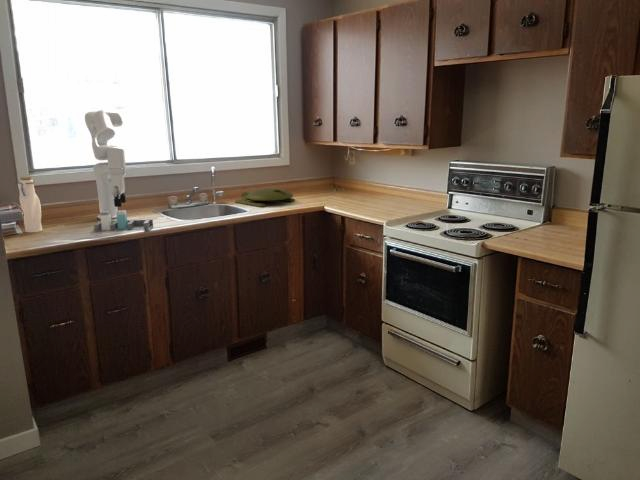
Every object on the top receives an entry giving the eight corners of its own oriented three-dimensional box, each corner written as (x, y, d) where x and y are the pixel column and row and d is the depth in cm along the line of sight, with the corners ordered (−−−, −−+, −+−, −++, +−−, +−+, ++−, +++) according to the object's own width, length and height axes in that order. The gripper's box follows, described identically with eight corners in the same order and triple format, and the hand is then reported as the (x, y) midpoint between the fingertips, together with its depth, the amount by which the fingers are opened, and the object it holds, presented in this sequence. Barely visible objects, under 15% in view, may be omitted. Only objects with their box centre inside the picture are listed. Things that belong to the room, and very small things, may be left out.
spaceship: (233, 203, 341) (232, 188, 338) (268, 197, 362) (267, 183, 360) (267, 209, 317) (267, 194, 315) (302, 203, 339) (302, 188, 336)
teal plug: (120, 227, 266) (118, 210, 264) (128, 227, 266) (126, 210, 264) (118, 229, 262) (116, 212, 260) (126, 228, 262) (124, 211, 260)
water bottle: (41, 232, 261) (33, 178, 254) (21, 234, 259) (13, 178, 252) (45, 228, 271) (38, 175, 264) (26, 229, 268) (18, 176, 261)
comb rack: (98, 228, 268) (97, 221, 267) (153, 226, 272) (152, 219, 271) (91, 234, 257) (90, 226, 256) (149, 231, 260) (148, 223, 259)
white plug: (104, 228, 265) (101, 211, 262) (112, 227, 265) (110, 210, 263) (101, 229, 261) (99, 212, 258) (110, 229, 261) (108, 212, 259)
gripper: (113, 169, 265) (116, 201, 269) (104, 174, 248) (108, 208, 253) (128, 168, 266) (131, 201, 270) (120, 173, 249) (124, 208, 254)
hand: (120, 204), depth 262 cm, fingers open, 9 cm apart
